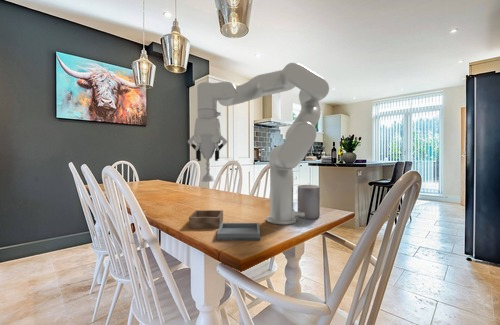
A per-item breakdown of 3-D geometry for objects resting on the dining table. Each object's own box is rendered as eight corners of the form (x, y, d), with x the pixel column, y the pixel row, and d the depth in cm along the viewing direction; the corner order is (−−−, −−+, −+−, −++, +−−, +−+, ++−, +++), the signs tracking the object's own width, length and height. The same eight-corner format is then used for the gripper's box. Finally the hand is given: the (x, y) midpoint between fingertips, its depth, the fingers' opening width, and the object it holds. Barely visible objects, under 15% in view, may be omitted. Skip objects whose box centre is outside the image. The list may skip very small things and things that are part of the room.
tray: (258, 228, 89) (258, 222, 89) (260, 240, 77) (260, 233, 77) (221, 228, 89) (221, 222, 89) (216, 240, 77) (216, 233, 77)
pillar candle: (305, 212, 114) (305, 181, 113) (324, 216, 106) (324, 183, 106) (293, 216, 107) (292, 183, 107) (311, 220, 100) (311, 185, 99)
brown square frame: (223, 219, 101) (223, 210, 101) (219, 228, 89) (219, 217, 89) (195, 219, 101) (195, 210, 101) (188, 228, 89) (188, 217, 89)
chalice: (219, 180, 97) (218, 136, 97) (214, 182, 91) (214, 134, 90) (201, 179, 98) (201, 136, 98) (196, 181, 91) (195, 135, 91)
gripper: (230, 116, 97) (230, 160, 98) (187, 117, 97) (188, 160, 98) (228, 113, 90) (228, 161, 90) (182, 113, 90) (183, 161, 90)
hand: (207, 160), depth 94 cm, fingers closed on chalice, 6 cm apart
